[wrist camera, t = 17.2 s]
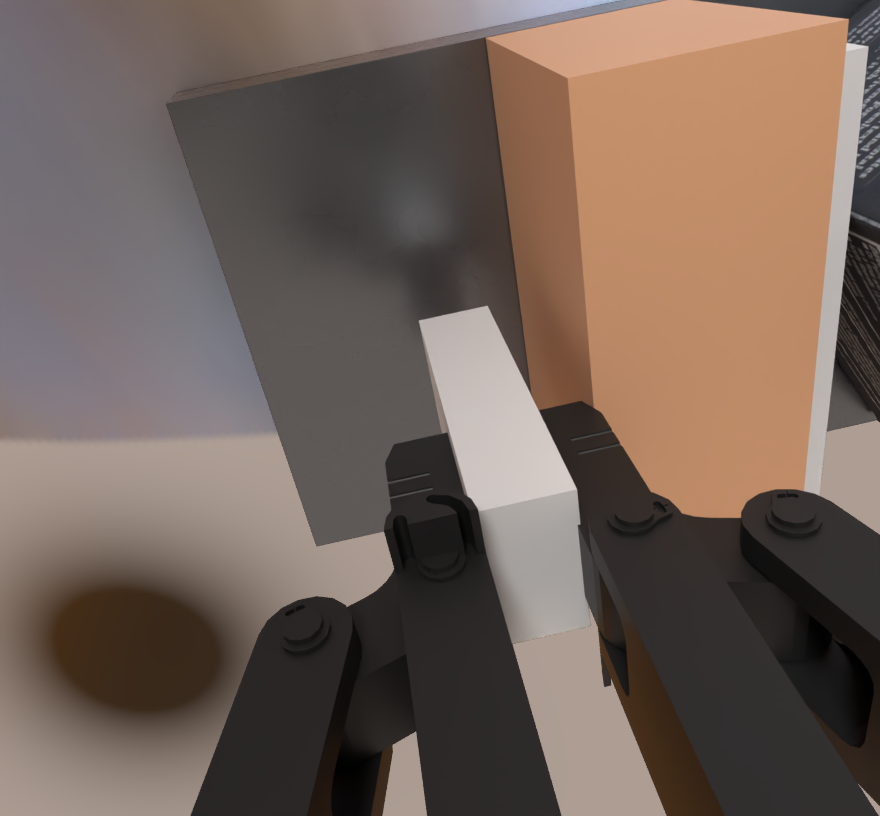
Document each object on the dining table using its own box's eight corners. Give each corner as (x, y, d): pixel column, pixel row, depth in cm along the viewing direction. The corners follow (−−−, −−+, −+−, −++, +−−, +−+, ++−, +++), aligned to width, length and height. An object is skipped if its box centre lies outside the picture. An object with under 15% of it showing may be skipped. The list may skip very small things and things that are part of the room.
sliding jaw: (544, 497, 22) (614, 662, 17) (485, 37, 16) (568, 78, 11) (701, 461, 22) (817, 615, 17) (704, -8, 16) (890, 10, 11)
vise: (316, 513, 23) (316, 728, 17) (177, 92, 17) (91, 176, 10) (1203, 314, 24) (1528, 446, 17) (1384, -158, 18) (1994, -223, 11)
